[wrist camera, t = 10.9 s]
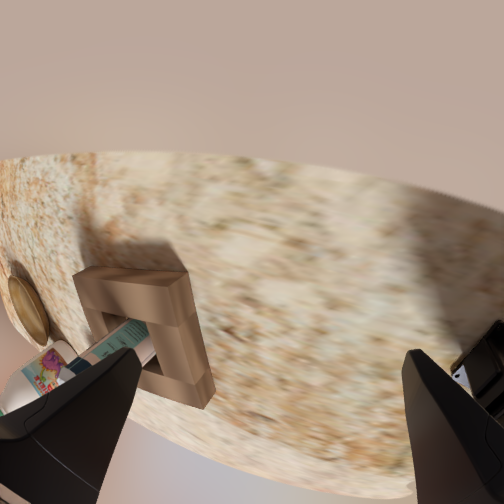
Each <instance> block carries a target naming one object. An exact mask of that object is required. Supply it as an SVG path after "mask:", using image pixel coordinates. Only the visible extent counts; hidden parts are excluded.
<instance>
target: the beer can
mask: <svg viewBox="0 0 504 504" xmlns="http://www.w3.org/2000/svg"><path fill="white" fill-rule="evenodd" d="M122 347H130V348H133V349H134V350H135V351H136V353H137V355H138V357H139V359H140V361H141V363H142V367H143V366H144V365H145V364H146V363H147V362H148V361H149V360H150V359H151V358H152V357H153V356H154V355H155V354H156V352H155V350H154V347H153V344H152V341H151V338H150V335H149V332H148V328H147V325H146V322H145V321H142V320H137V319H132V318H128V319H126V320H125V321H124V322H122V323H121V324H120V325H119V326H117V327H116V328H115V329H113V330H112V331H111V332H109V333H108V334H107V335H105V336H104V337H103V338H101V339H100V340H99V341H97V342H96V343H95V344H93V345H92V346H91V347H90V348H88V349H87V350H86V351H84V352H83V353H82V354H80V355H79V356H78V357H76V358H75V359H74V360H73V361H71V362H70V363H69V364H67V365H66V366H65V367H63V368H61V370H60V374H59V376H58V379H57V383H58V385H61V384H63V383H64V382H66V381H68V380H69V379H71V378H73V377H74V376H76V375H78V374H79V373H81V372H82V371H84V370H86V369H87V368H89V367H91V366H92V365H94V364H96V363H97V362H99V361H101V360H102V359H104V358H105V357H107V356H109V355H110V354H112V353H114V352H115V351H117V350H119V349H120V348H122Z"/></svg>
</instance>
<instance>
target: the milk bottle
mask: <svg viewBox="0 0 504 504" xmlns="http://www.w3.org/2000/svg"><path fill="white" fill-rule="evenodd" d="M76 357H78V356H77V354H76V353H75V351H74V350H73V349H72V348H71V347H70V346H69V345H68V344H67V343H66V342H65V341H63V340H58V341H56V342H55V343H53V344H52V345H50V346H49V347H47V348H46V349H44V350H43V351H42V352H40V353H39V354H37V355H36V356H35V357H33V358H32V359H30V360H29V361H28V362H26V363H25V364H24V365H22V366H21V367H20V368H19V369H17V370H16V371H15V372H14V373H13V374H12V375H11V377H10V378H9V380H8V382H7V384H6V386H5V388H4V390H3V392H2V394H1V395H0V416H3V415H5V414H7V413H9V412H11V411H14V410H16V409H18V408H20V407H22V406H24V405H26V404H28V403H30V402H32V401H34V400H35V399H37V398H39V397H41V396H43V395H44V394H46V393H47V392H50V391H51V390H53V389H54V388H56V387H58V386H59V385H58V383H57V379H58V376H59V374H60V370H61V368H63V367H65V366H66V365H67V364H69V363H70V362H71V361H73V360H74V359H75V358H76ZM1 411H2V412H1Z"/></svg>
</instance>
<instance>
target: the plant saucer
mask: <svg viewBox="0 0 504 504" xmlns="http://www.w3.org/2000/svg"><path fill="white" fill-rule="evenodd" d="M8 287H9V293H10V297H11V300H12V303H13V306H14V308H15V311H16V313H17V315H18V317H19V319H20V321H21V323H22V324H23V326H24V328H25V329H26V331H27V332H28V334H29V335H30V336H31V337H32V339H33V340H34V341H35V342H36V343H37V344H39V345H40V346H43V347H44V346H46V345H47V342H48V337H49V322H48V318H47V315H46V312H45V310H44V307H43V305H42V303H41V301H40V299H39V297H38V295H37V294H36V292H35V290H34V289H33V288H32V286H31V285H30V284H29V283H28V282H27V281H25V280H23V279H21V278H19V277H17V276H14V275H10V276H9V279H8Z"/></svg>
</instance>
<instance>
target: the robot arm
mask: <svg viewBox="0 0 504 504" xmlns="http://www.w3.org/2000/svg"><path fill="white" fill-rule="evenodd" d="M498 326H500V327H499V328H498ZM141 372H142V363H141V361H140V359H139V357H138V355H137V353H136V351H135V350H134V349H133V348H130V347H122V348H120V349H119V350H117V351H115V352H114V353H112V354H110V355H109V356H107V357H105V358H104V359H102V360H101V361H99V362H97V363H96V364H94V365H92V366H91V367H89V368H87V369H86V370H84V371H82V372H81V373H79V374H78V375H76V376H74V377H73V378H71V379H69V380H68V381H66V382H64V383H63V384H61V385H59V386H58V387H56V388H54V389H53V390H51V391H50V392H47V393H46V394H44V395H43V396H41V397H39V398H37V399H35V400H34V401H32V402H30V403H28V404H26V405H24V406H22V407H20V408H18V409H16V410H14V411H11V412H9V413H7V414H5V415H3V416H0V504H96V502H97V499H98V496H99V491H100V489H101V486H102V483H103V480H104V478H105V475H106V472H107V469H108V466H109V463H110V461H111V458H112V455H113V453H114V450H115V447H116V444H117V442H118V439H119V436H120V434H121V431H122V429H123V426H124V423H125V421H126V418H127V416H128V413H129V411H130V408H131V406H132V403H133V399H134V396H135V392H136V389H137V385H138V382H139V379H140V375H141ZM456 374H457V375H456ZM451 376H452V378H451V377H450V376H449V375H448V374H447V373H446V372H445V371H444V370H443V369H442V368H441V367H440V366H439V365H437V364H436V363H435V362H434V361H433V360H432V359H431V358H430V357H429V356H428V355H427V354H425V353H424V352H423V351H422V350H421V349H414V350H409V351H408V352H407V353H406V357H405V360H404V364H403V367H402V382H403V391H404V402H405V414H406V421H407V427H408V432H409V438H410V444H411V450H412V456H413V463H414V471H415V479H416V489H417V499H418V504H504V322H503V321H502V320H498V321H496V322H495V324H494V325H493V326H492V327H491V329H490V330H489V331H488V332H487V334H486V335H485V336H484V337H483V339H482V340H481V341H480V342H479V343H478V344H477V346H476V347H475V348H474V349H473V350H472V351H471V352H470V354H469V355H468V356H467V357H466V358H465V359H464V360H463V361H462V362H461V363H460V364H459V366H458V367H457V368H456V369H455V370H454V371H453V372H452V374H451ZM457 382H458V383H460V384H462V385H464V386H466V387H468V388H470V389H471V392H472V395H473V398H472V397H471V396H470V395H469V394H468V393H467V392H466V391H465V390H464V389H463V388H462V387H461V386H460V385H459V384H458V383H457Z"/></svg>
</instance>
